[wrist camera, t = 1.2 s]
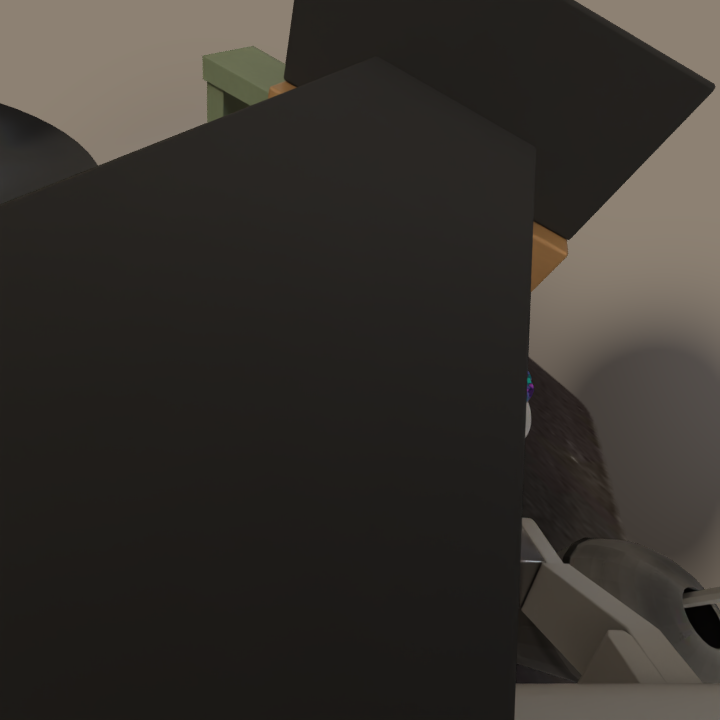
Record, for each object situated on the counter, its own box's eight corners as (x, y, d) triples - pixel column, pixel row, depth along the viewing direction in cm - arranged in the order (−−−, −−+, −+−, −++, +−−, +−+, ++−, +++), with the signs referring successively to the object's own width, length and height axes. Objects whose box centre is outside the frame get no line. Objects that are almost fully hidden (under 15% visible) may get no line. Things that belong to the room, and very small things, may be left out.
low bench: (204, 242, 39) (202, 55, 26) (240, 216, 43) (253, 45, 30) (312, 300, 39) (363, 145, 26) (336, 268, 44) (389, 123, 31)
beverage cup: (442, 669, 24) (865, 775, 8) (442, 550, 28) (717, 479, 13) (533, 686, 25) (1045, 805, 10) (519, 570, 29) (852, 525, 14)
